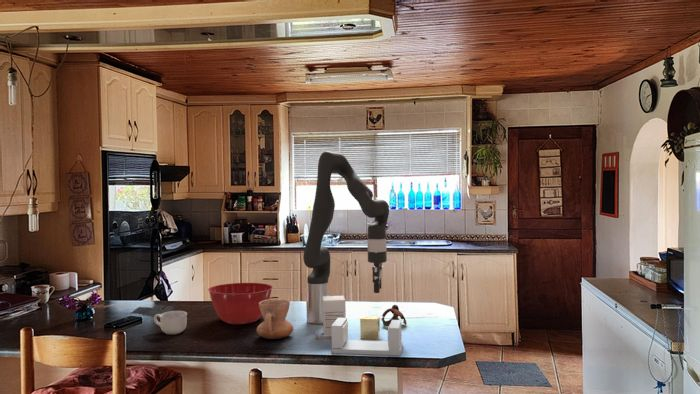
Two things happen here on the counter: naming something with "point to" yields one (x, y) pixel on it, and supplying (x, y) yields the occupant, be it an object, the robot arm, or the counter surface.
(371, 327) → the block
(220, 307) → the mixing bowl
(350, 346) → the vise
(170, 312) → the teacup
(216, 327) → the counter surface
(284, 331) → the ceramic jug
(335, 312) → the supplement box
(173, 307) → the dark slate chunk
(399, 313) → the dark brown curved loop
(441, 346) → the counter surface
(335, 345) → the jaw
